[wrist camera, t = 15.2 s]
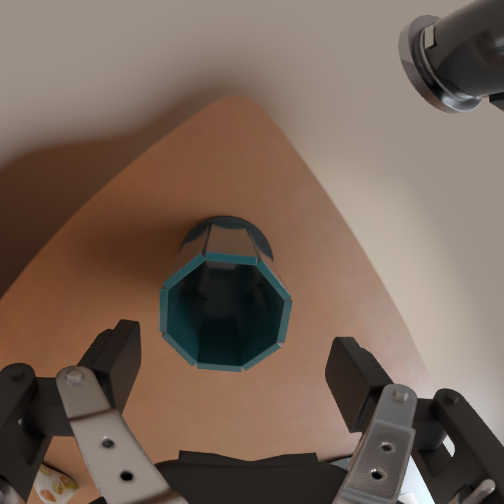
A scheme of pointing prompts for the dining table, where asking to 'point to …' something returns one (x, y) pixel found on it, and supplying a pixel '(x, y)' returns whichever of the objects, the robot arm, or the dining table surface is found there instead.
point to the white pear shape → (54, 486)
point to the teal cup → (224, 300)
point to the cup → (408, 498)
